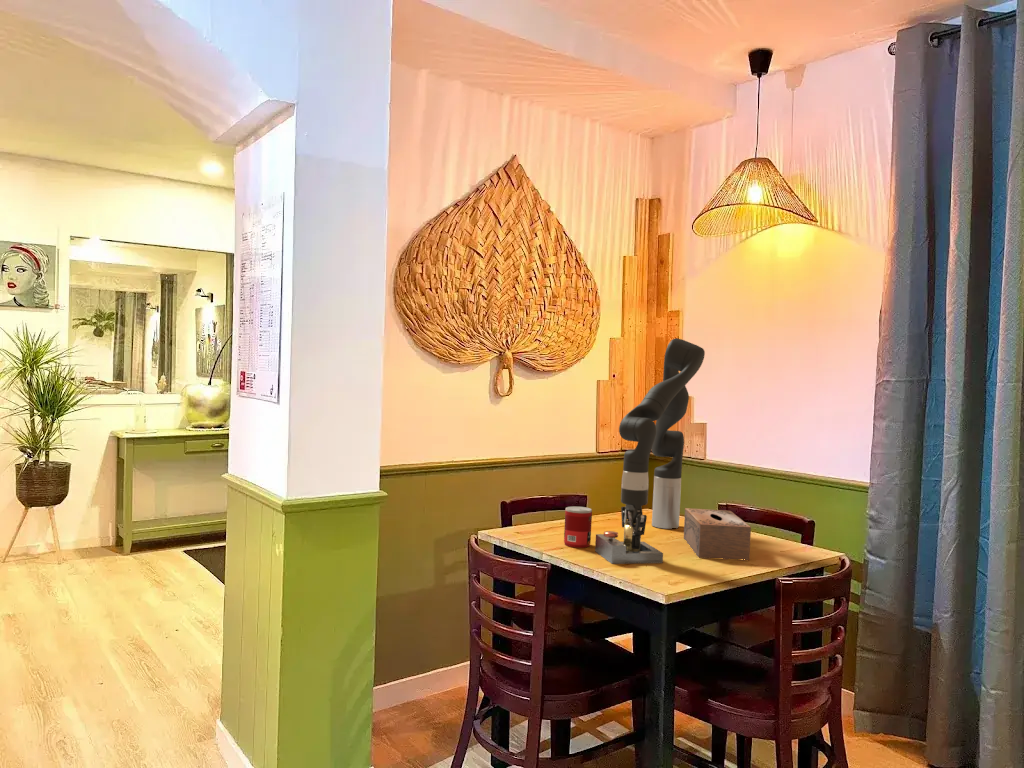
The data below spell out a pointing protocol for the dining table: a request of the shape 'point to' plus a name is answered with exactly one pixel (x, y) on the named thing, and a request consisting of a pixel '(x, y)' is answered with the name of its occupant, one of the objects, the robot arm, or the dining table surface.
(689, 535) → the tissue box cover
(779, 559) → the dining table surface
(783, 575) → the dining table surface
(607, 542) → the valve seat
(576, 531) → the canned food
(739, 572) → the dining table surface
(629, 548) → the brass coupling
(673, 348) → the robot arm
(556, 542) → the dining table surface
